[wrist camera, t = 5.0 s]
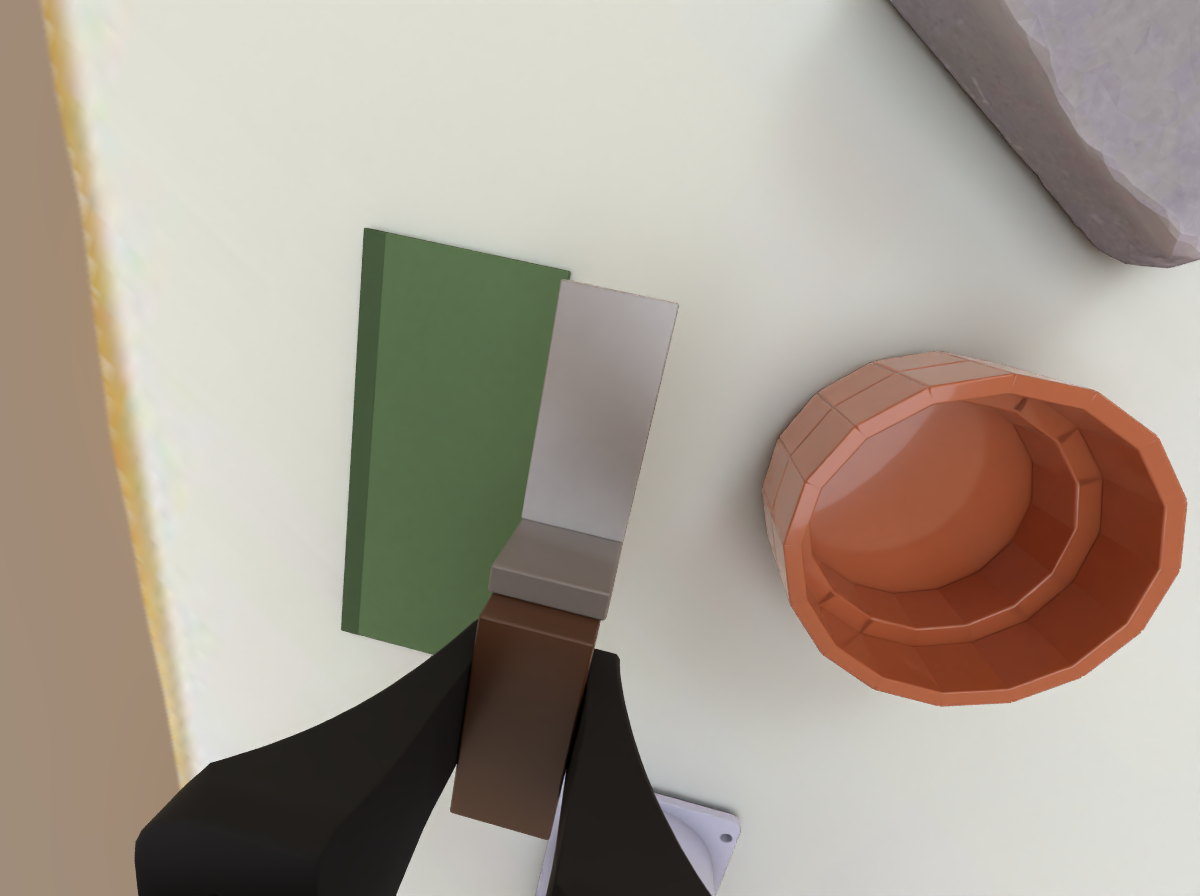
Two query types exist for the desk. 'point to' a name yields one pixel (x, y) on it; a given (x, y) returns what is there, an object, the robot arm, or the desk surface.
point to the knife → (560, 556)
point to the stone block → (1089, 107)
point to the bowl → (970, 527)
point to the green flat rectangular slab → (439, 431)
